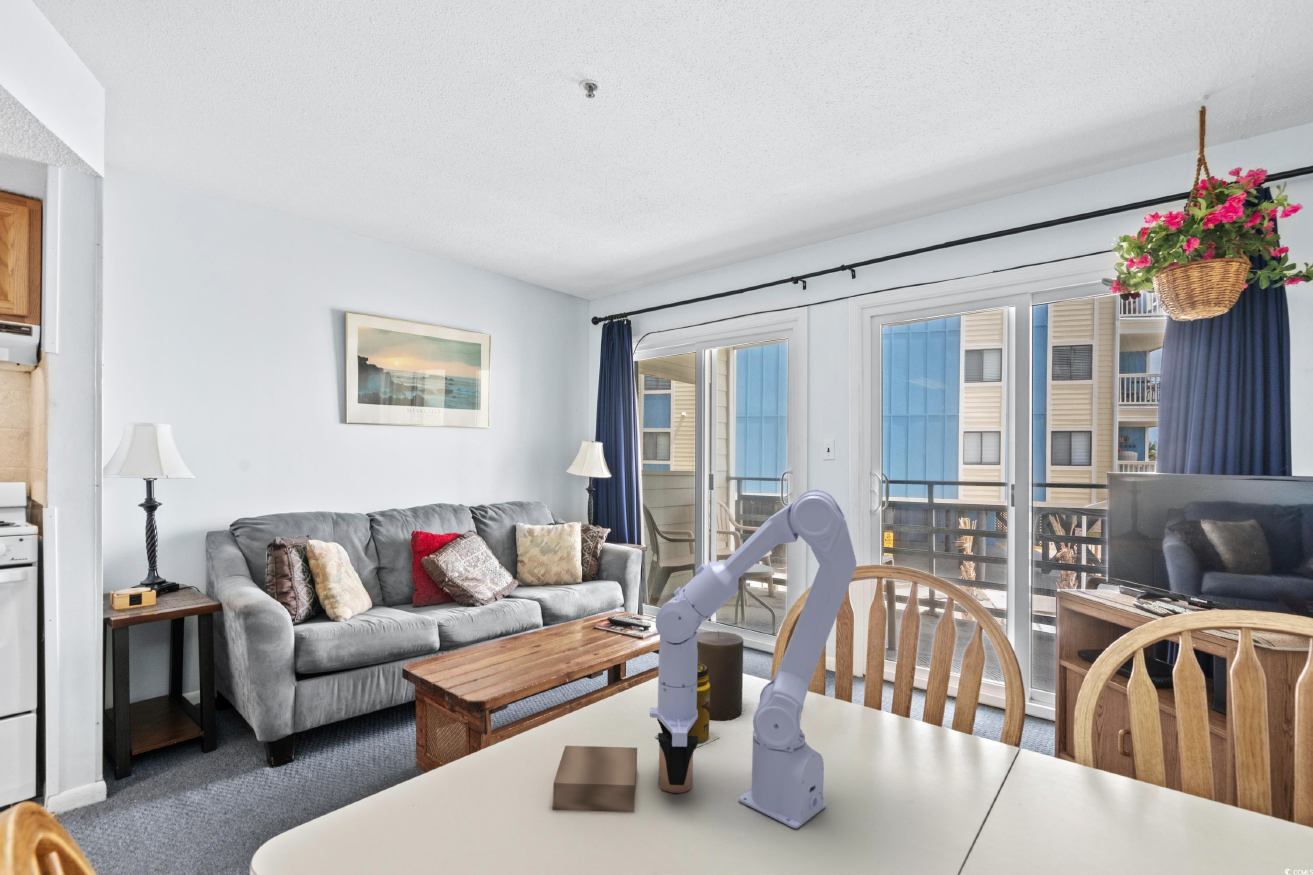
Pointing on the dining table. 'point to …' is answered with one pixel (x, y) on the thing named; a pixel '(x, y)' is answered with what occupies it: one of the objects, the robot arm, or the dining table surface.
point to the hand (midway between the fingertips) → (675, 773)
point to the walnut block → (596, 779)
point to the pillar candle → (722, 672)
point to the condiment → (702, 708)
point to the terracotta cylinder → (664, 776)
